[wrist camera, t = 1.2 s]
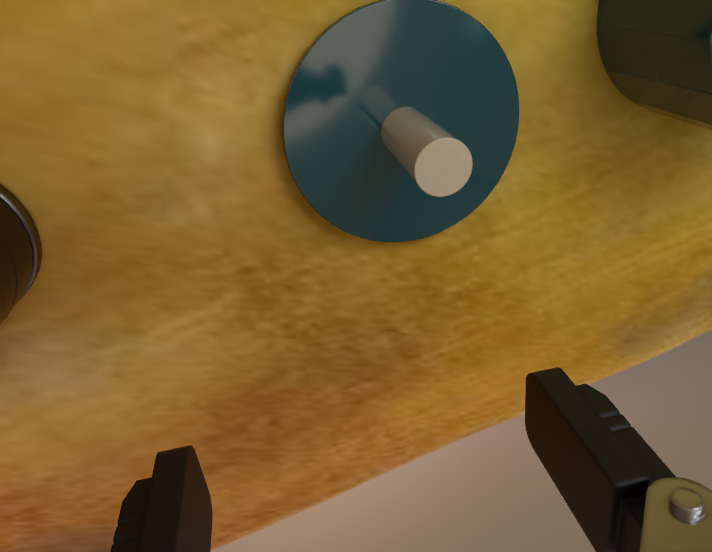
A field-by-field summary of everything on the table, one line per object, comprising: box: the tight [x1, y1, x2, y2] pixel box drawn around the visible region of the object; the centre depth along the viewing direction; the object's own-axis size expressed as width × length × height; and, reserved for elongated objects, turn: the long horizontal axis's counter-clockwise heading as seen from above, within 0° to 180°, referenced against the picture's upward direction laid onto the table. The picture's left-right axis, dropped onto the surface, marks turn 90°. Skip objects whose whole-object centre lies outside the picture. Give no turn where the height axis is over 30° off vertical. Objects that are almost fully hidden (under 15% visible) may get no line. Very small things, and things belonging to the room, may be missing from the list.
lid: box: [282, 0, 519, 242], centre depth 30 cm, size 14×14×9 cm
